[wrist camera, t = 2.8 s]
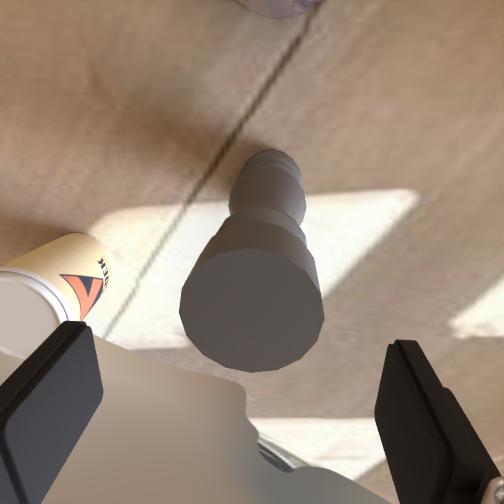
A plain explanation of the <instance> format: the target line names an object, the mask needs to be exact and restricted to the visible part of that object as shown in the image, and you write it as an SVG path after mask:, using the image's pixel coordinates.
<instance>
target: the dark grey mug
mask: <svg viewBox="0 0 504 504" xmlns="http://www.w3.org/2000/svg"><path fill="white" fill-rule="evenodd" d="M236 1H237V2H238V3H239V4H241V5H242V6H243V7H244V8H246V9H247V10H249V11H250V12H252V13H254V14H256V15H259V16H262V17H265V18H272V19H284V18H290V17H293V16H297V15H299V14H302V13H304V12H306V11H308V10H309V9H311V8H312V7H314V6H315V5H316V4H317V3H319V2H320V1H321V0H236Z"/></svg>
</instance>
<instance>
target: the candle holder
mask: <svg viewBox="0 0 504 504" xmlns="http://www.w3.org/2000/svg"><path fill="white" fill-rule="evenodd" d="M228 206H229V211H230V215H231V216H230V217H228V218H226V220H225V221H224V223H223V224H222V226H221V227H220V229H219V230H218V232H217V233H216V235H215V236H213V237H212V238H211V239H210V241H209V242H208V244H207V245H206V247H205V248H204V250H203V251H202V253H201V254H200V256H199V258H198V260H197V261H196V263H195V265H194V267H193V269H192V271H191V273H190V274H189V276H188V278H187V280H186V282H185V284H184V286H183V287H182V291H181V299H180V308H179V315H180V318H181V321H182V324H183V327H184V330H185V333H186V336H187V337H188V338H189V339H190V340H191V341H192V343H193V344H194V345H195V346H196V347H197V348H198V350H199V351H200V352H201V353H202V354H203V355H204V356H206V357H208V358H210V359H212V360H213V361H215V362H217V363H219V364H220V365H222V366H224V367H226V368H231V369H236V370H241V371H245V372H250V373H253V372H262V371H272V370H278V369H280V368H282V367H285V366H287V365H289V364H291V363H293V362H295V361H297V360H299V359H301V358H302V357H303V356H304V355H305V353H306V352H307V351H308V350H309V349H310V348H311V347H312V346H313V345H314V344H315V343H316V342H317V340H318V337H319V333H320V330H321V327H322V324H323V321H324V312H323V305H322V299H321V292H320V287H319V282H318V277H317V272H316V266H315V261H314V258H313V256H312V255H311V253H310V252H309V250H308V249H307V244H306V238H305V234H304V233H303V231H302V230H301V228H300V227H299V226H300V224H301V223H302V222H303V218H304V214H305V210H306V201H305V195H304V190H303V187H302V180H301V174H300V170H299V168H298V166H297V165H296V163H295V162H294V160H293V159H292V158H291V157H289V156H288V155H286V154H285V153H283V152H279V151H274V150H268V151H263V152H259V153H258V154H256V155H255V156H253V157H252V158H250V159H249V161H248V162H247V164H246V166H245V167H244V169H243V170H242V172H241V174H240V177H239V179H238V181H237V182H236V184H235V186H234V187H233V189H232V190H231V193H230V199H229V205H228Z"/></svg>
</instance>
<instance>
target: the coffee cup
mask: <svg viewBox="0 0 504 504" xmlns="http://www.w3.org/2000/svg"><path fill="white" fill-rule="evenodd" d="M114 273H115V264H114V260H113V257H112V255H111V253H110V251H109V250H108V249H107V247H106V246H105V245H104V244H103V243H102V242H100V241H99V240H97V239H96V238H94V237H92V236H89V235H86V234H81V233H72V234H67V235H65V236H62V237H60V238H58V239H56V240H53V241H51V242H49V243H47V244H45V245H43V246H41V247H39V248H37V249H35V250H33V251H31V252H29V253H27V254H25V255H23V256H21V257H19V258H17V259H15V260H13V261H11V262H9V263H7V264H5V265H3V266H1V267H0V351H1V352H3V353H6V354H7V355H10V356H13V357H17V358H23V359H27V358H28V357H29V356H30V355H31V354H32V353H33V352H34V351H35V350H36V349H37V348H38V347H39V346H40V345H41V344H42V343H43V342H44V341H45V340H46V338H47V337H48V336H49V335H50V334H51V333H52V332H53V331H54V330H55V329H56V328H57V327H58V326H59V325H60V324H61V323H62V322H63V321H66V320H70V321H82V320H83V319H84V318H85V316H86V315H87V314H88V312H89V311H90V310H91V308H92V307H93V306H94V304H95V303H96V302H97V300H98V299H99V298H100V296H101V295H102V294H103V292H104V291H105V290H106V288H107V287H108V285H109V284H110V282H111V281H112V279H113V277H114Z"/></svg>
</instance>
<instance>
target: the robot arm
mask: <svg viewBox="0 0 504 504" xmlns="http://www.w3.org/2000/svg"><path fill="white" fill-rule="evenodd" d="M102 397H103V386H102V381H101V376H100V371H99V365H98V360H97V355H96V350H95V345H94V340H93V334H92V330H91V328H90V327H89V326H87V325H86V323H85V322H83V321H70V320H66V321H63V322H62V323H61V324H60V325H59V326H58V327H57V328H56V329H55V330H54V331H53V332H52V333H51V334H50V335H49V336H48V337H47V338H46V340H45V341H44V342H43V343H42V344H41V345H40V346H39V347H38V348H37V349H36V350H35V351H34V352H33V353H32V354H31V355H30V356H29V357H28V358H27V359H26V360H25V361H24V362H23V363H22V364H21V365H20V366H19V367H18V368H17V369H16V370H15V371H14V372H13V373H12V374H11V375H10V376H9V377H8V379H6V381H5V382H4V383H3V384H2V385H1V386H0V504H41V502H42V501H43V499H44V497H45V496H46V494H47V492H48V490H49V489H50V487H51V485H52V484H53V482H54V480H55V479H56V477H57V475H58V473H59V472H60V470H61V468H62V467H63V465H64V463H65V462H66V460H67V458H68V457H69V455H70V453H71V452H72V450H73V448H74V446H75V445H76V443H77V441H78V440H79V438H80V436H81V435H82V433H83V431H84V430H85V428H86V426H87V424H88V423H89V421H90V419H91V418H92V416H93V414H94V412H95V411H96V409H97V408H98V406H99V404H100V402H101V400H102ZM374 414H375V421H376V425H377V428H378V432H379V435H380V438H381V442H382V445H383V448H384V452H385V455H386V459H387V462H388V465H389V469H390V472H391V475H392V479H393V482H394V485H395V489H396V492H397V495H398V499H399V502H400V504H504V477H502V476H501V474H500V472H499V471H498V469H497V467H496V466H495V464H494V462H493V461H492V459H491V457H490V455H489V454H488V452H487V450H486V449H485V447H484V445H483V444H482V442H481V440H480V439H479V437H478V435H477V433H476V432H475V430H474V428H473V427H472V425H471V423H470V422H469V420H468V418H467V417H466V415H465V413H464V411H463V410H462V408H461V406H460V405H459V403H458V401H457V400H456V398H455V396H454V395H453V393H452V392H451V391H450V390H449V389H448V388H445V387H443V386H442V384H441V382H440V381H439V379H438V377H437V375H436V374H435V372H434V370H433V368H432V367H431V365H430V363H429V361H428V360H427V358H426V356H425V354H424V353H423V351H422V349H421V347H420V346H419V344H418V342H417V341H415V340H395V342H394V344H389V345H388V348H387V352H386V357H385V362H384V367H383V372H382V376H381V381H380V386H379V391H378V395H377V400H376V405H375V412H374Z"/></svg>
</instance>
